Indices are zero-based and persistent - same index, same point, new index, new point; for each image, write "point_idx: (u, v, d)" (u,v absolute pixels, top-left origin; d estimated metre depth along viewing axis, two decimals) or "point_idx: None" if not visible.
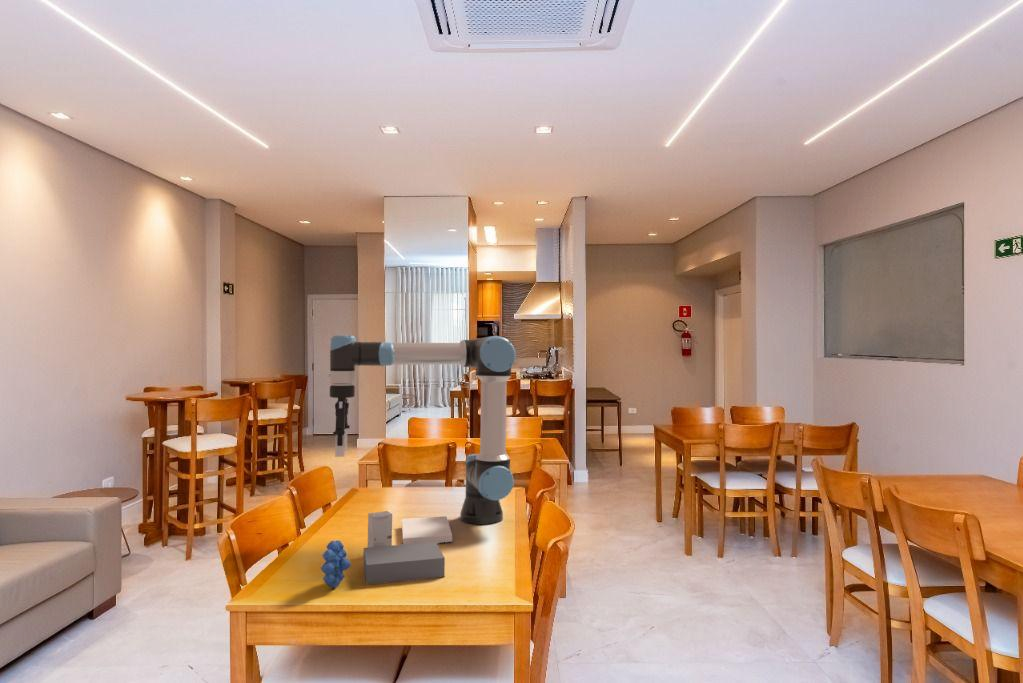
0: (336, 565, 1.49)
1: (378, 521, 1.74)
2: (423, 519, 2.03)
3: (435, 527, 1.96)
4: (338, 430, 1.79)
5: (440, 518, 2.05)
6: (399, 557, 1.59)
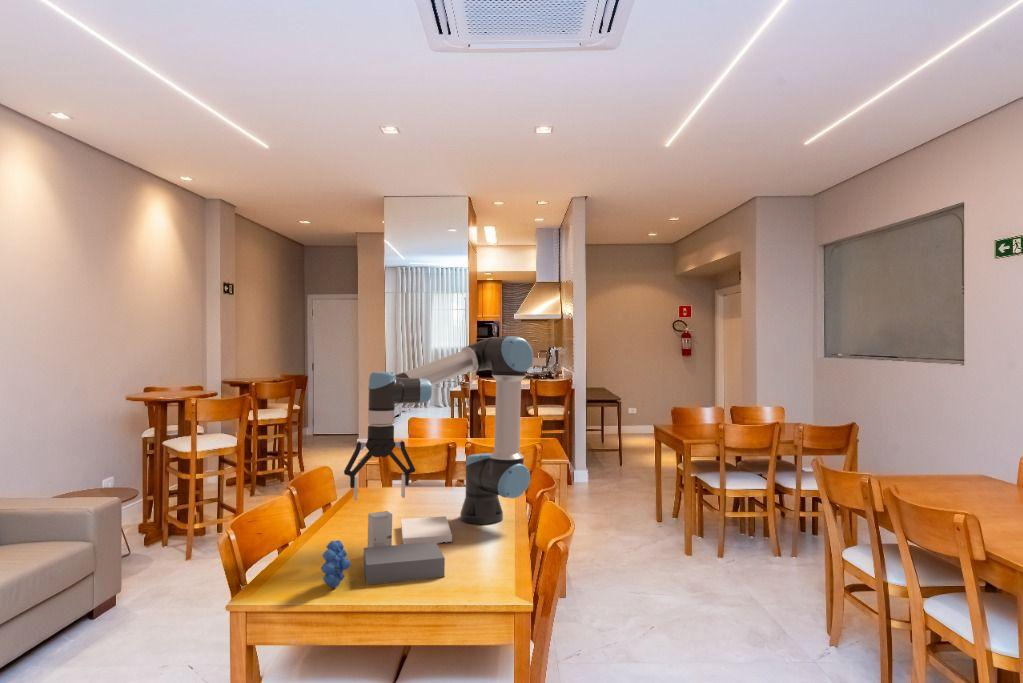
0: (336, 565, 1.49)
1: (378, 521, 1.74)
2: (422, 519, 2.03)
3: (435, 527, 1.96)
4: (344, 470, 1.74)
5: (439, 518, 2.05)
6: (399, 557, 1.59)
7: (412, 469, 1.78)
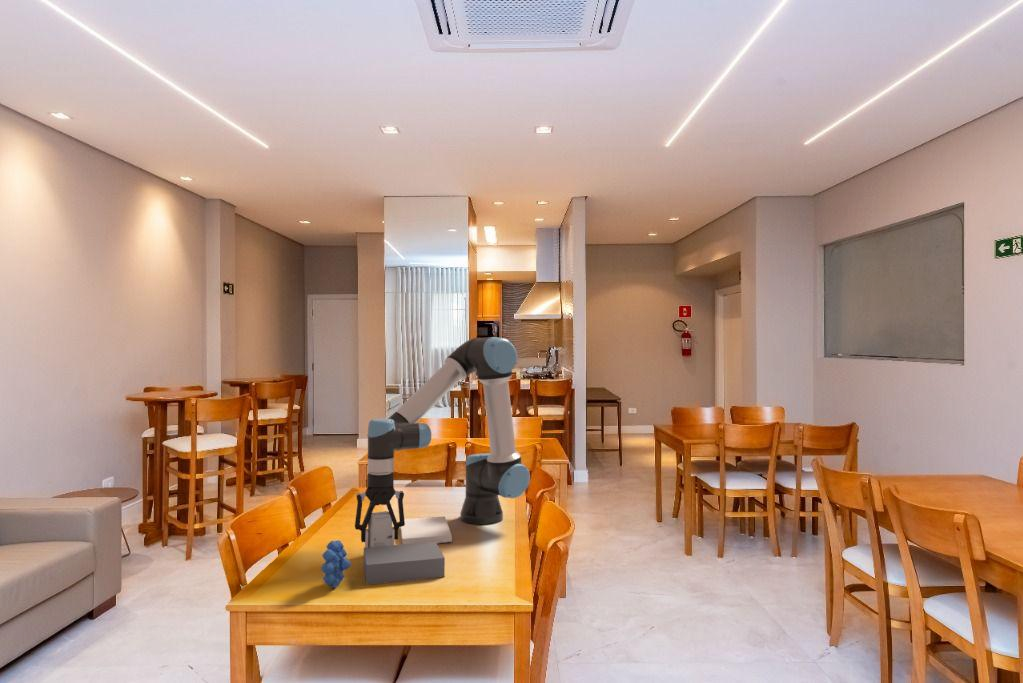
0: (336, 565, 1.49)
1: (378, 521, 1.74)
2: (421, 519, 2.03)
3: (434, 527, 1.95)
4: None
5: (439, 518, 2.05)
6: (399, 557, 1.59)
7: (402, 523, 1.77)
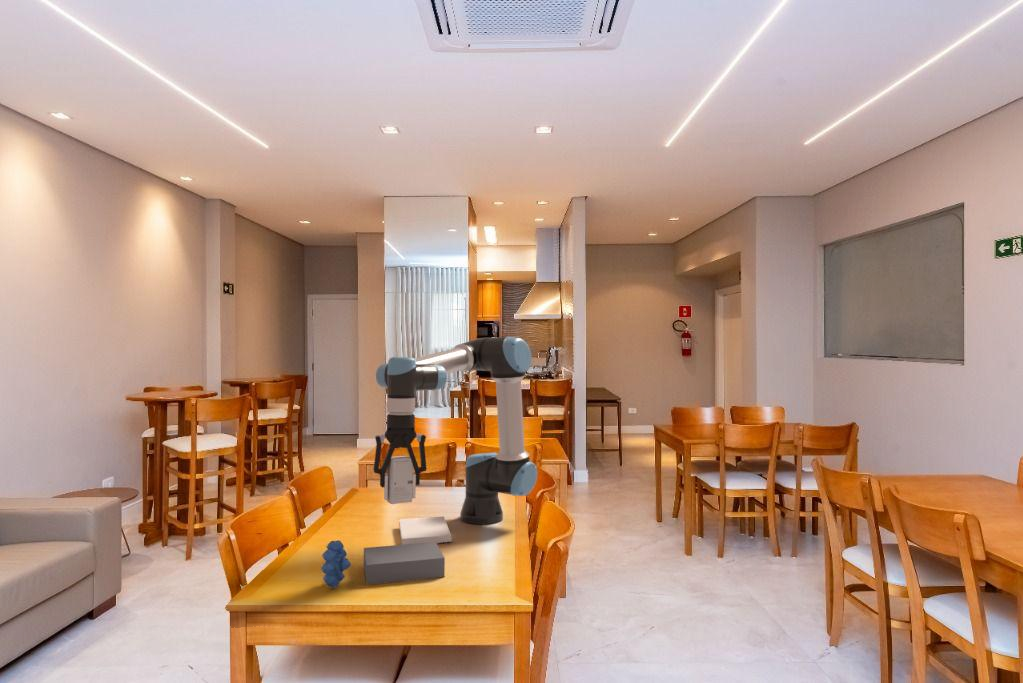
0: (336, 565, 1.49)
1: (398, 464, 1.63)
2: (420, 519, 2.03)
3: (433, 527, 1.95)
4: (374, 468, 1.63)
5: (438, 518, 2.04)
6: (399, 557, 1.59)
7: (423, 467, 1.66)
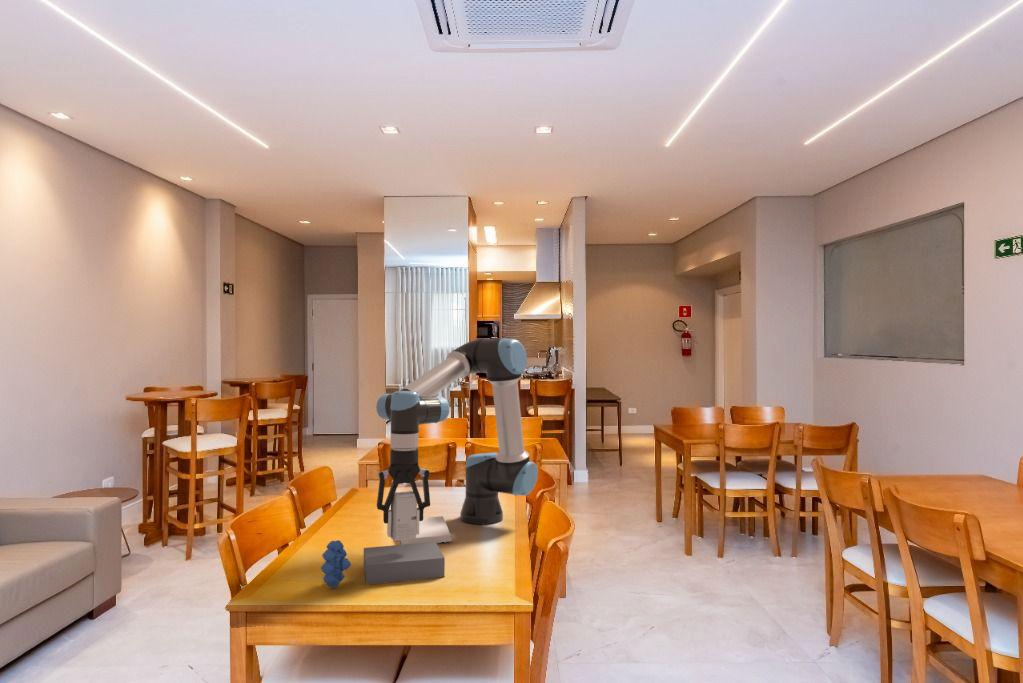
0: (336, 565, 1.49)
1: (402, 500, 1.61)
2: None
3: (433, 527, 1.95)
4: None
5: (437, 518, 2.04)
6: (399, 557, 1.59)
7: (427, 503, 1.64)
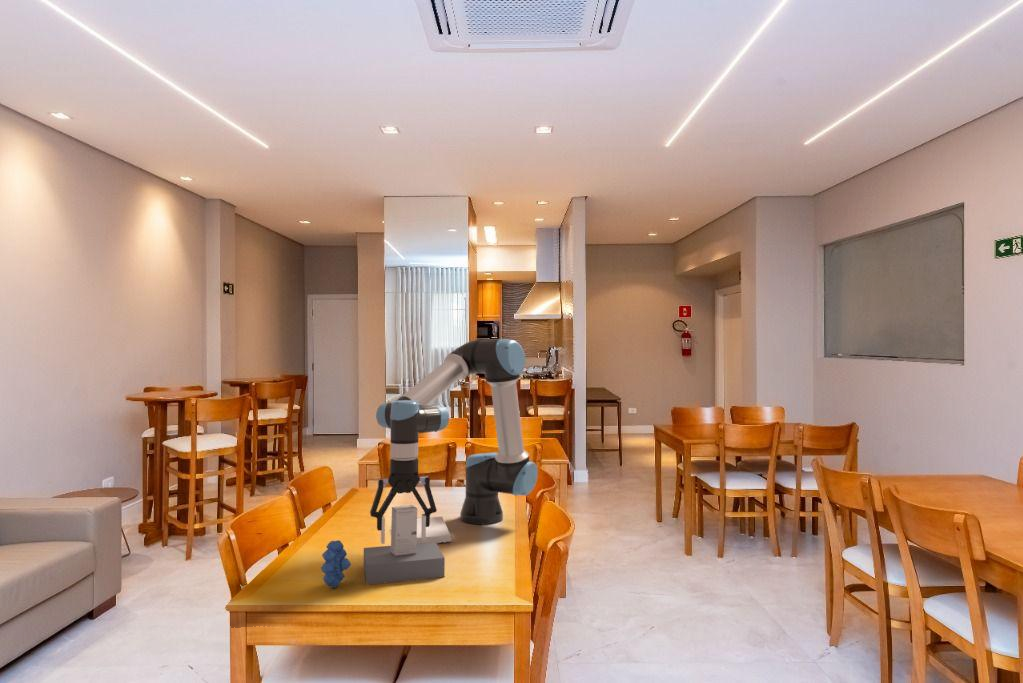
0: (336, 565, 1.49)
1: (402, 515, 1.61)
2: (419, 519, 2.03)
3: (432, 527, 1.95)
4: (371, 511, 1.61)
5: (436, 518, 2.04)
6: (399, 557, 1.59)
7: (433, 509, 1.64)
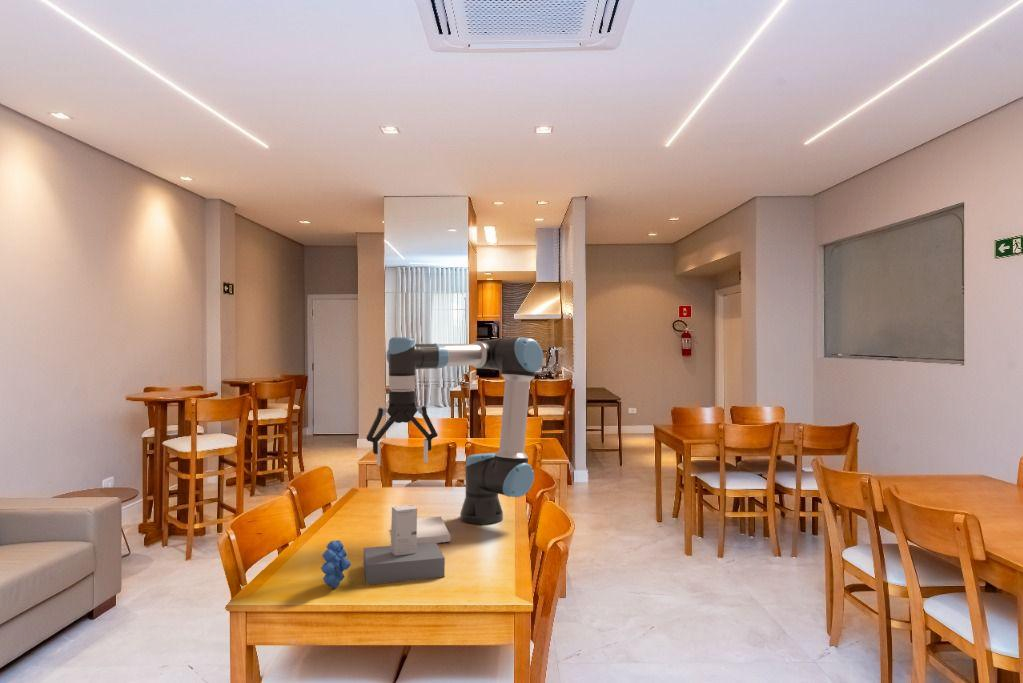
0: (336, 565, 1.49)
1: (402, 515, 1.61)
2: (418, 520, 2.03)
3: (431, 527, 1.95)
4: (367, 437, 1.72)
5: (435, 518, 2.04)
6: (399, 557, 1.59)
7: (434, 434, 1.77)
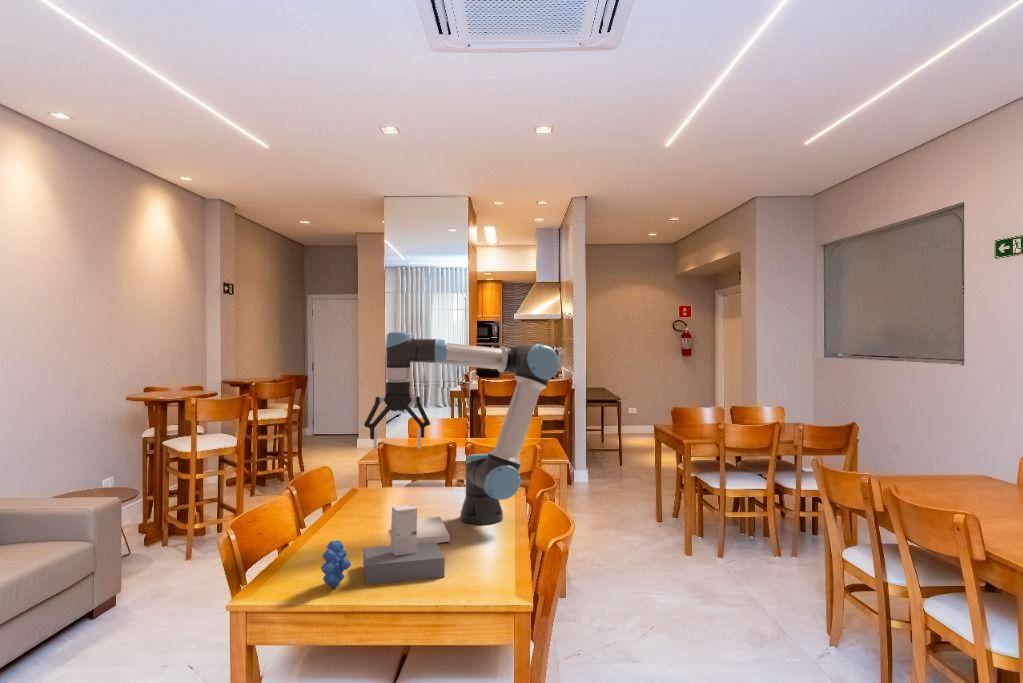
0: (336, 565, 1.49)
1: (402, 515, 1.61)
2: (417, 520, 2.03)
3: (431, 527, 1.95)
4: (365, 423, 1.87)
5: (434, 518, 2.04)
6: (399, 557, 1.59)
7: (427, 422, 1.91)
